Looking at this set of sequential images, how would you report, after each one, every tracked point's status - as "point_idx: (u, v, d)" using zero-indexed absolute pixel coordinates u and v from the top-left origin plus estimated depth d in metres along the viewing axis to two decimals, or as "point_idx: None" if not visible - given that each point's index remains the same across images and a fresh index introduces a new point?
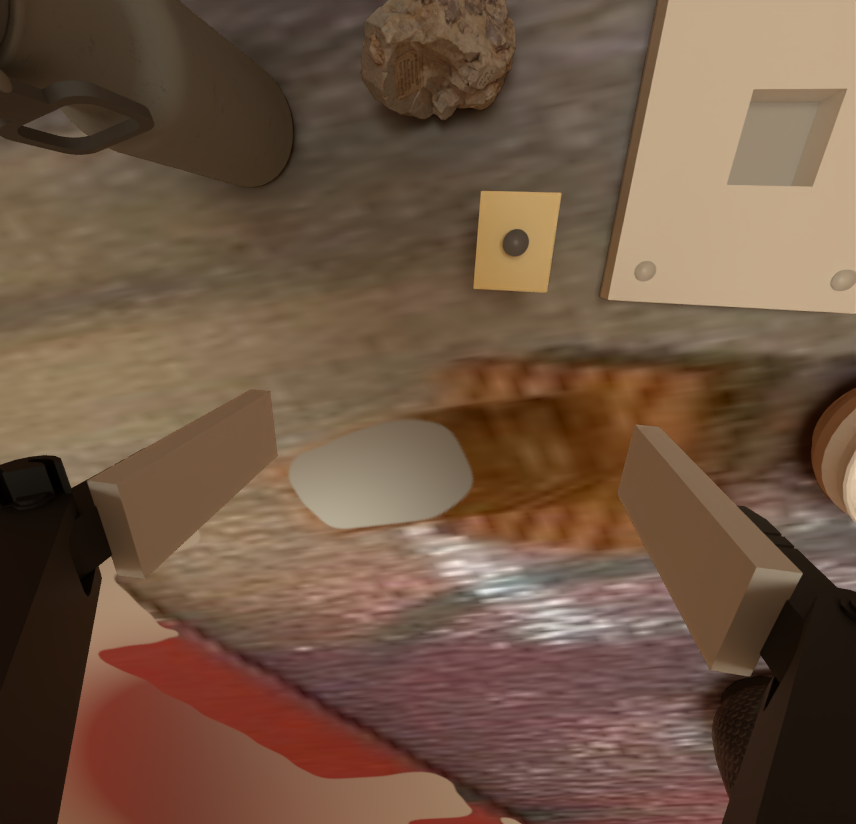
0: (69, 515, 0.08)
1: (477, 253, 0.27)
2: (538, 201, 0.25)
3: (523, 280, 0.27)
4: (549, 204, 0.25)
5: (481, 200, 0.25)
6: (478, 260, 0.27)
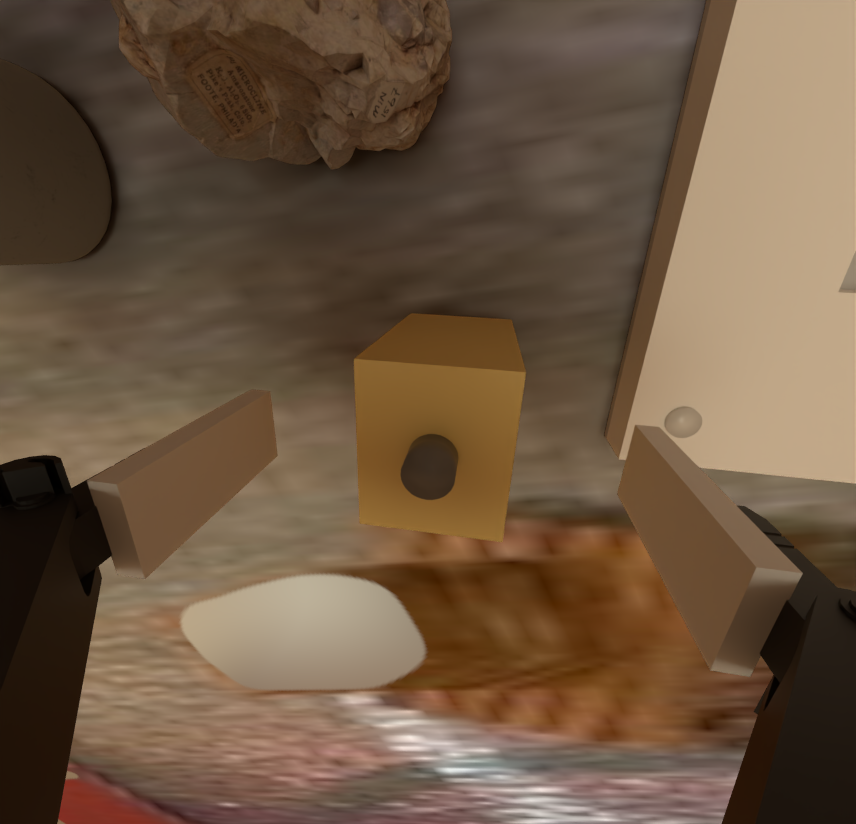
0: (69, 515, 0.08)
1: (360, 467, 0.13)
2: (476, 384, 0.11)
3: (454, 518, 0.13)
4: (500, 392, 0.11)
5: (356, 376, 0.12)
6: (363, 478, 0.13)
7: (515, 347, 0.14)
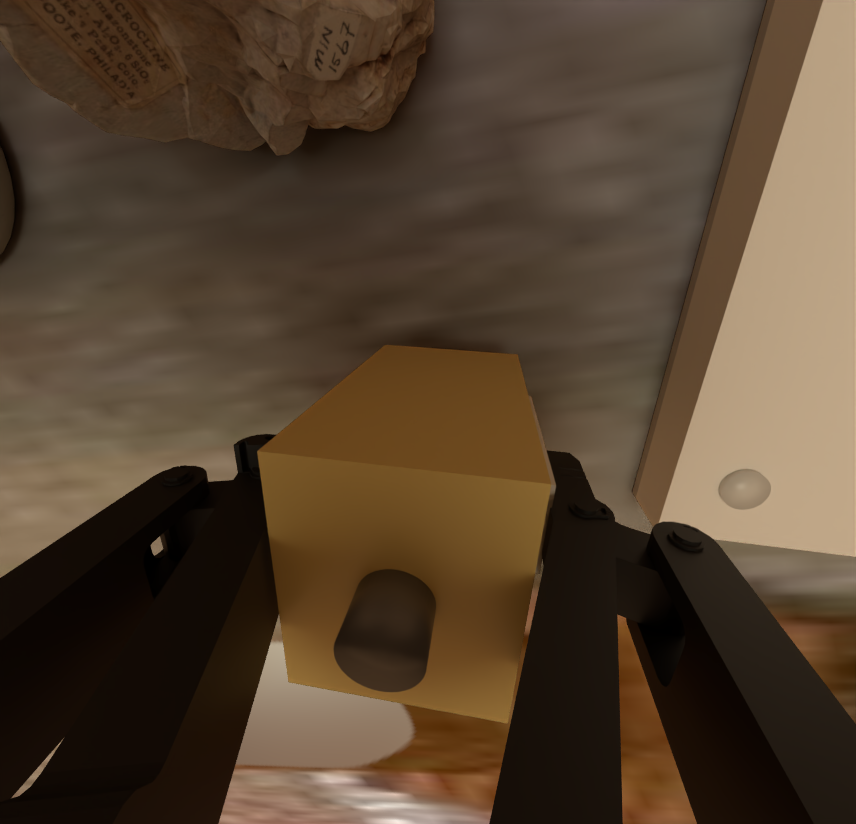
0: None
1: (282, 609, 0.08)
2: (463, 499, 0.07)
3: (433, 688, 0.08)
4: (505, 513, 0.07)
5: (264, 477, 0.07)
6: (288, 624, 0.08)
7: (527, 414, 0.09)
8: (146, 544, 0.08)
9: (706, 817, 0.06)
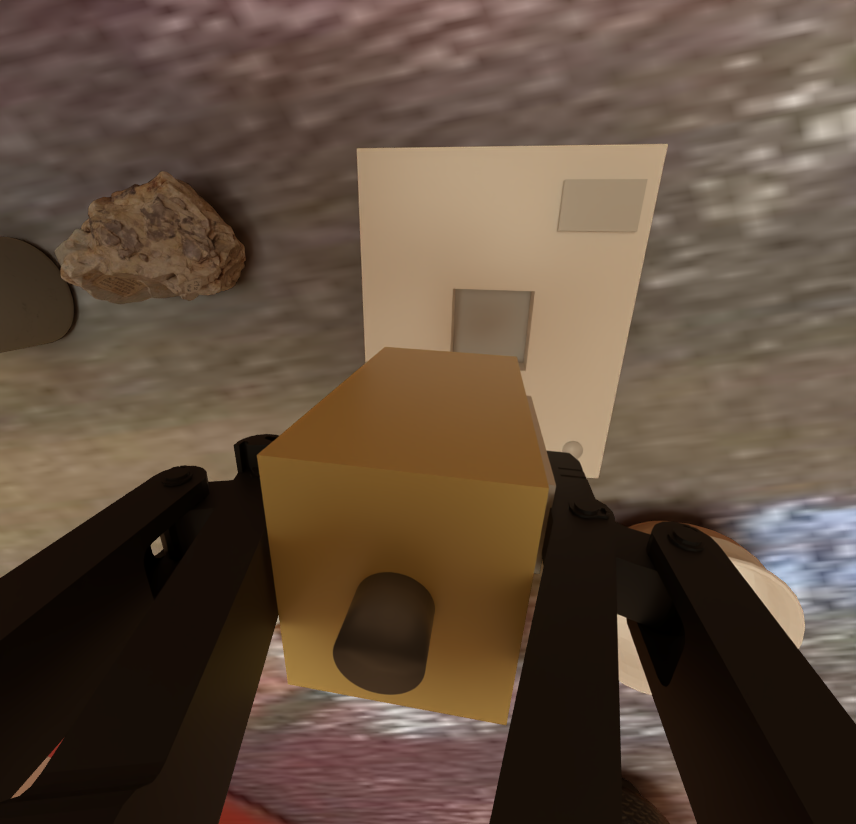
0: None
1: (282, 611, 0.08)
2: (462, 503, 0.07)
3: (431, 689, 0.08)
4: (503, 517, 0.07)
5: (264, 481, 0.07)
6: (288, 626, 0.08)
7: (525, 417, 0.09)
8: (146, 544, 0.08)
9: (706, 817, 0.06)
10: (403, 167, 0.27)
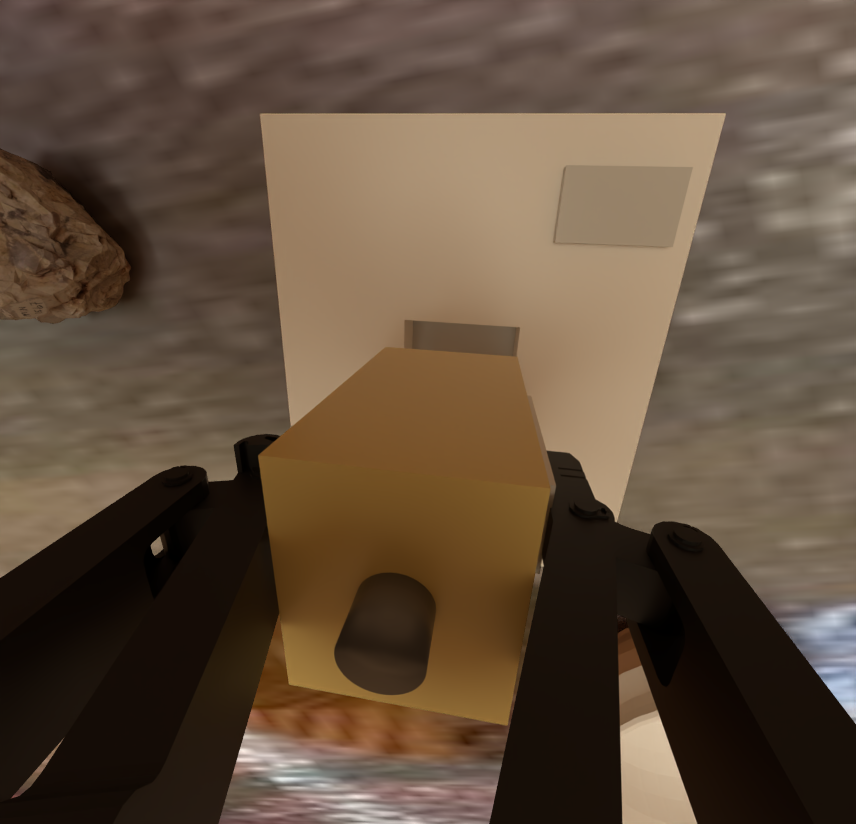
0: None
1: (283, 612, 0.08)
2: (463, 503, 0.07)
3: (433, 690, 0.08)
4: (504, 517, 0.07)
5: (265, 482, 0.07)
6: (289, 626, 0.08)
7: (526, 417, 0.09)
8: (146, 544, 0.08)
9: (706, 817, 0.06)
10: (328, 142, 0.18)
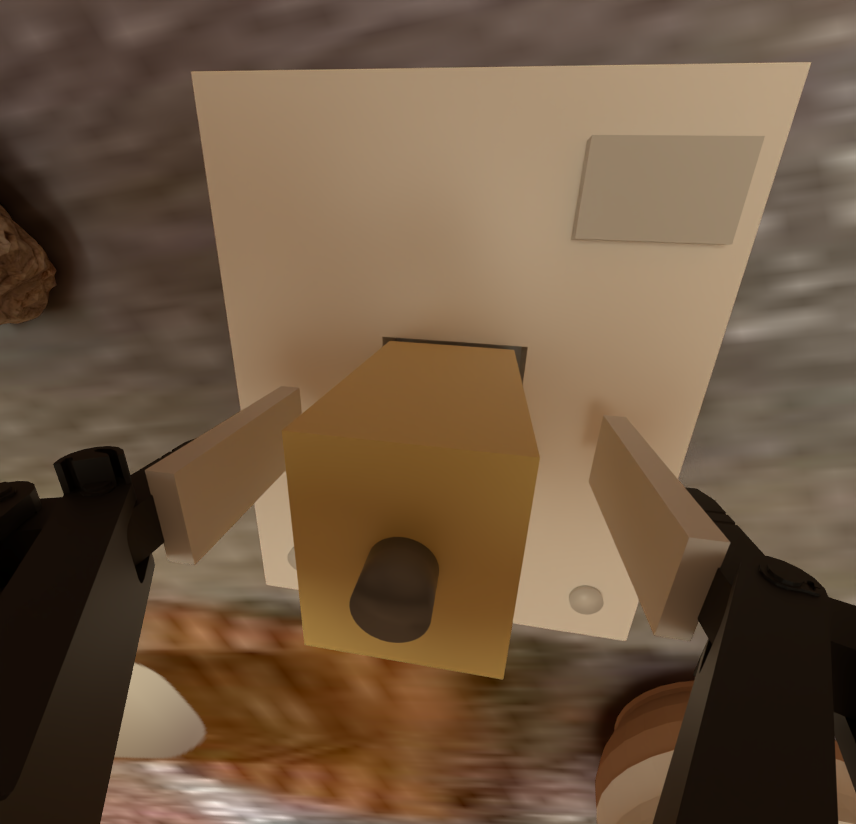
0: (128, 504, 0.09)
1: (300, 576, 0.09)
2: (464, 472, 0.08)
3: (435, 647, 0.09)
4: (499, 484, 0.08)
5: (287, 454, 0.08)
6: (306, 590, 0.09)
7: (521, 401, 0.10)
8: None
9: None
10: (280, 109, 0.14)
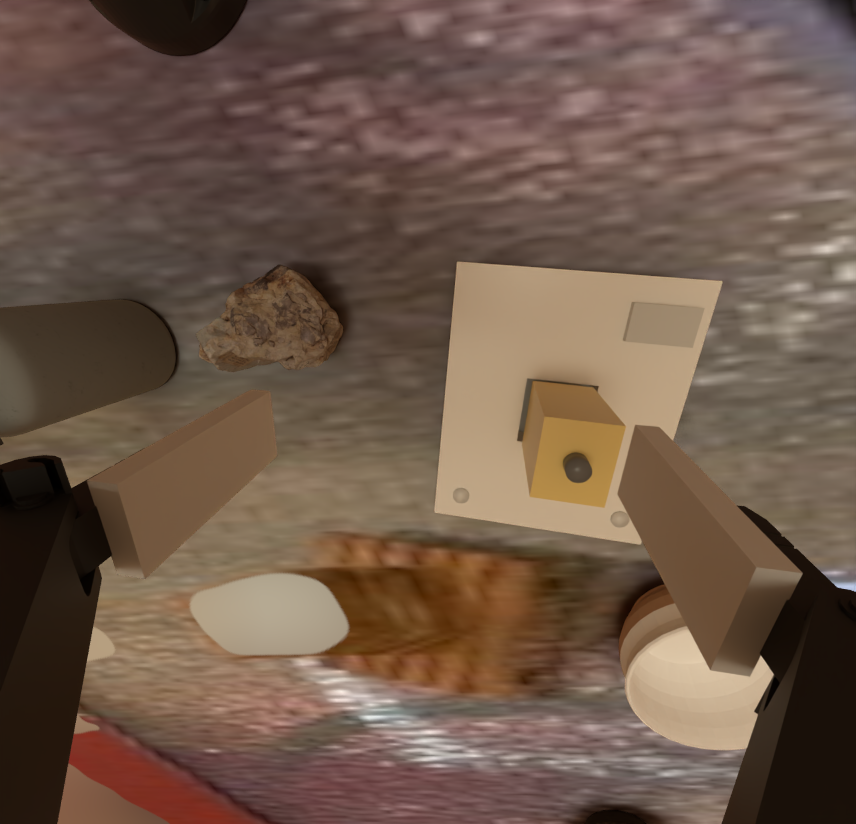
0: (69, 515, 0.08)
1: (536, 467, 0.27)
2: (601, 430, 0.25)
3: (581, 495, 0.27)
4: (612, 434, 0.25)
5: (544, 424, 0.26)
6: (536, 473, 0.27)
7: (611, 410, 0.28)
8: None
9: None
10: (495, 279, 0.32)
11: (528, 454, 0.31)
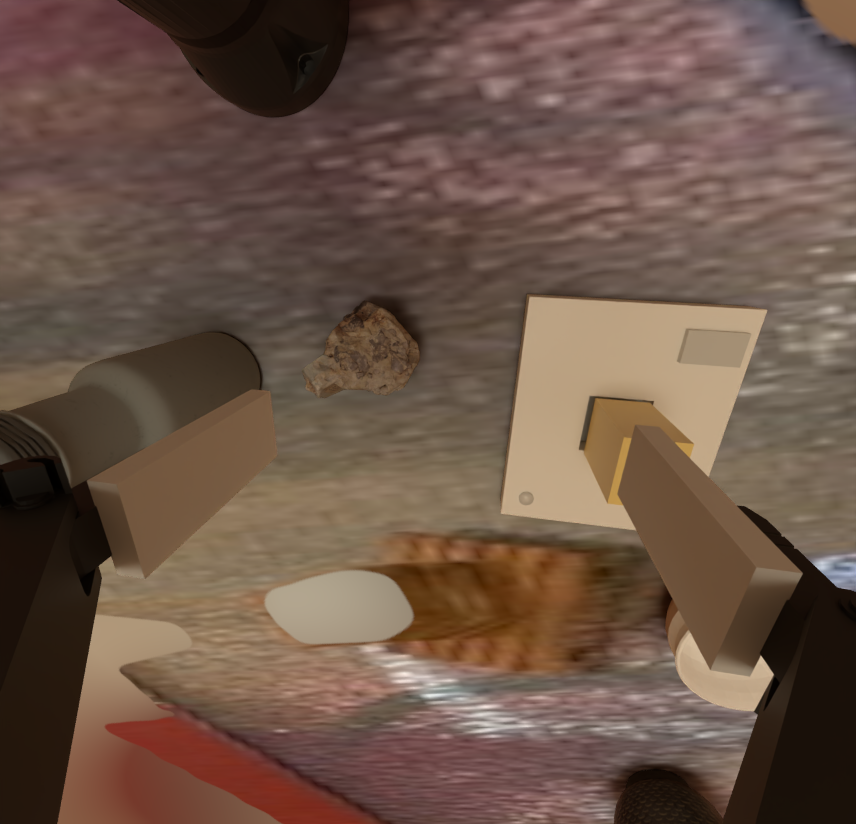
0: (69, 515, 0.08)
1: (614, 479, 0.31)
2: None
3: None
4: None
5: (623, 443, 0.30)
6: (614, 484, 0.32)
7: (675, 427, 0.32)
8: None
9: None
10: (564, 311, 0.36)
11: (598, 465, 0.35)
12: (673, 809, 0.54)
